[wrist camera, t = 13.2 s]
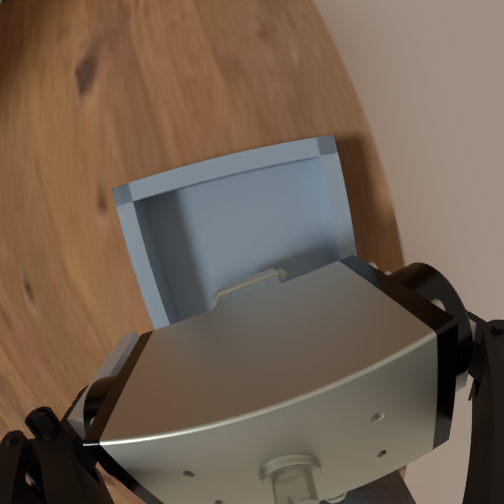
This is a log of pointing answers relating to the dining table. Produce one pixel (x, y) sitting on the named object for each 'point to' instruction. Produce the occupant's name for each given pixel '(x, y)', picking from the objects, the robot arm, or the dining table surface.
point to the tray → (234, 223)
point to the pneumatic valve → (286, 388)
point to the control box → (379, 492)
